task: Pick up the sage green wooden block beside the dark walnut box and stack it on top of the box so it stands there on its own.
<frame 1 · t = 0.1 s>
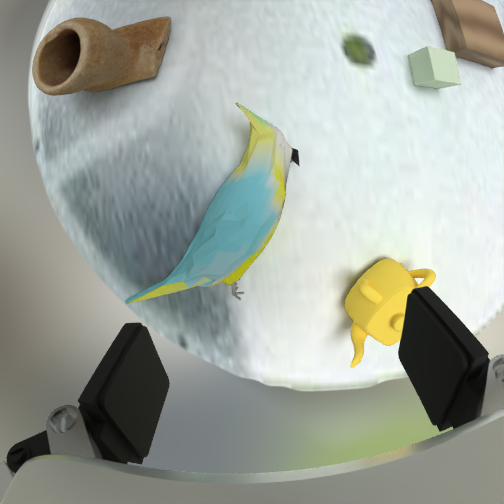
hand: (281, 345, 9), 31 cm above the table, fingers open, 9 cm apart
teapot: (374, 291, 44), on the table
sage block: (424, 72, 31), on the table
walnut box: (463, 32, 26), on the table
clay spout: (124, 64, 32), on the table
decorative bird: (207, 200, 39), on the table
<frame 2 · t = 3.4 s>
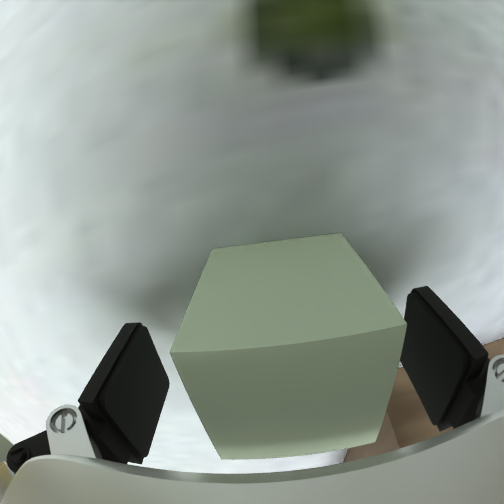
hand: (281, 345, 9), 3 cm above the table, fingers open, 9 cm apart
sage block: (283, 296, 12), on the table
walnut box: (428, 409, 16), on the table
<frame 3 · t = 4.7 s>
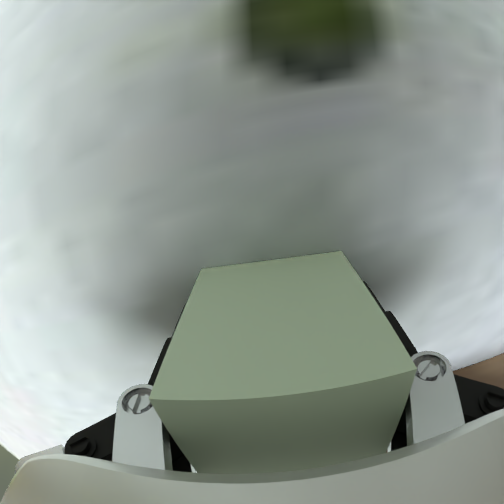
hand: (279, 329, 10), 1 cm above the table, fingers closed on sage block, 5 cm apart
sage block: (278, 319, 11), on the table, touching gripper
walnut box: (429, 423, 15), on the table
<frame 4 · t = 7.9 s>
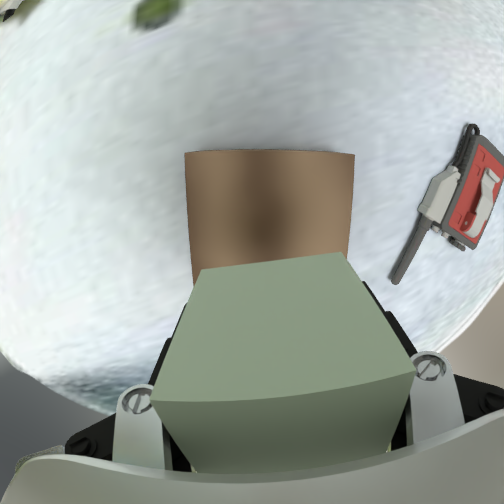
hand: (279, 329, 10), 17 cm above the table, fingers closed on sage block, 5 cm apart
sage block: (278, 319, 11), point 16 cm above the table, touching gripper
walnut box: (267, 214, 27), on the table
walkie-talkie: (448, 209, 26), on the table
when the fingers open (8 cm above the table, at t = 10.3 s): sage block drops 2 cm, resting on walnut box.
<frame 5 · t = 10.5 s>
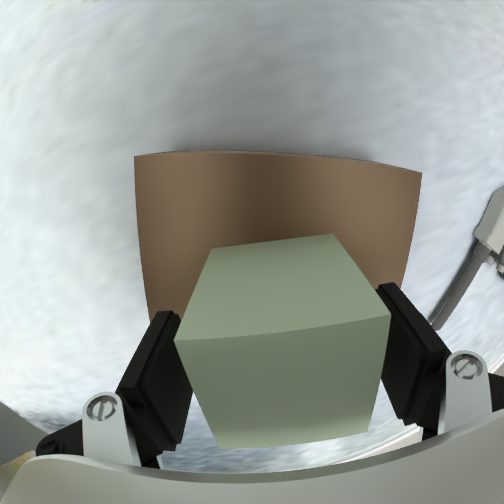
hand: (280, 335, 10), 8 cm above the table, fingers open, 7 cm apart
sage block: (278, 294, 13), point 6 cm above the table, touching walnut box
walnut box: (270, 248, 18), on the table, touching sage block
walkie-talkie: (502, 233, 17), on the table
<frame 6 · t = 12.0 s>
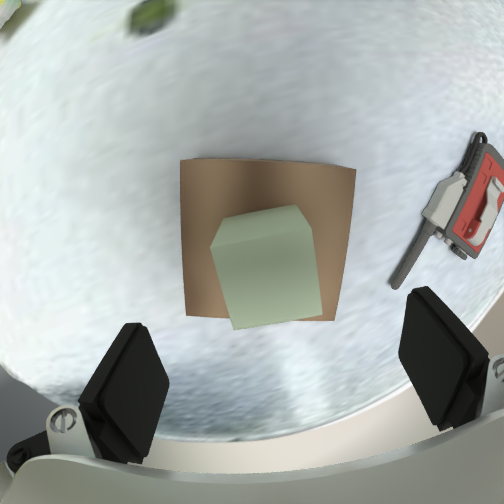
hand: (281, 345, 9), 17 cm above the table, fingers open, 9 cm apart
sage block: (266, 245, 20), point 6 cm above the table, touching walnut box
walnut box: (263, 226, 26), on the table, touching sage block
walkie-talkie: (451, 216, 25), on the table
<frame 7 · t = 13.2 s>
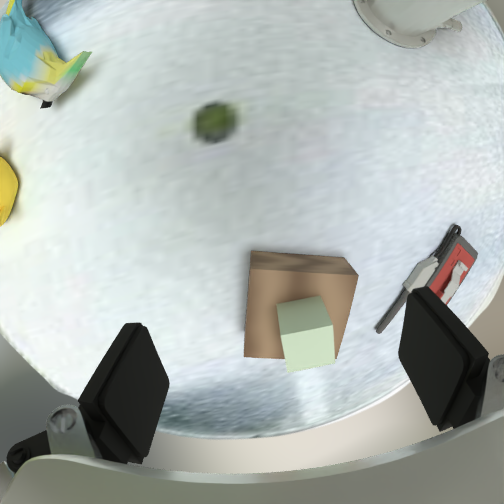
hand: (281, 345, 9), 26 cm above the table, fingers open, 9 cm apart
teapot: (0, 183, 32), on the table
sage block: (301, 318, 32), point 6 cm above the table, touching walnut box
walnut box: (292, 295, 38), on the table, touching sage block
walkie-talkie: (425, 283, 38), on the table
decorative bird: (60, 34, 25), on the table
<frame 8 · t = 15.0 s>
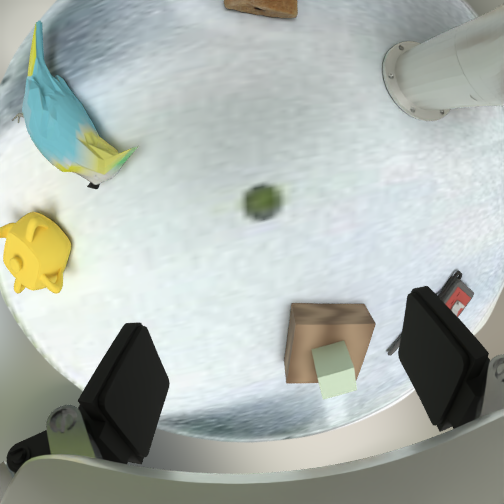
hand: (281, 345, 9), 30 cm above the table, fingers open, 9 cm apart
teapot: (48, 240, 41), on the table
sage block: (330, 356, 40), point 6 cm above the table
walnut box: (322, 333, 46), on the table
walkie-talkie: (429, 315, 45), on the table
decorative bird: (93, 99, 33), on the table
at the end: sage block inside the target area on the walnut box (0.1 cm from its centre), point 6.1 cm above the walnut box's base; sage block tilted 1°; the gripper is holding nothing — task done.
